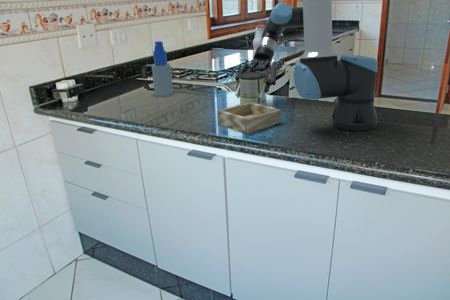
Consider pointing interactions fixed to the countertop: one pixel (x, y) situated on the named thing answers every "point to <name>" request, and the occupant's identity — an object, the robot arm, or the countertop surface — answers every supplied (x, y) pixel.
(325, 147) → the countertop surface
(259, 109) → the light wooden square tray
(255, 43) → the fruit juice
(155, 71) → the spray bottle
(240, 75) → the coffee can
